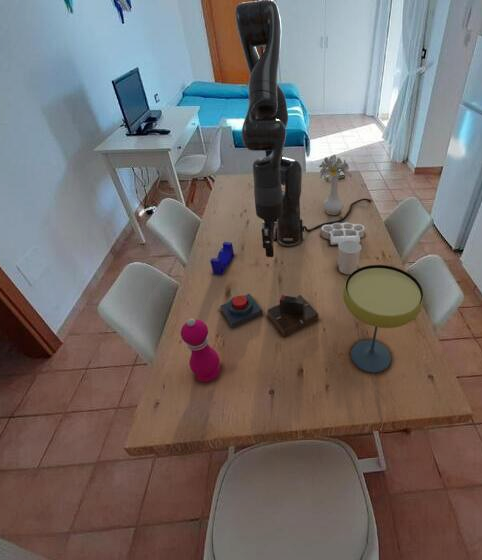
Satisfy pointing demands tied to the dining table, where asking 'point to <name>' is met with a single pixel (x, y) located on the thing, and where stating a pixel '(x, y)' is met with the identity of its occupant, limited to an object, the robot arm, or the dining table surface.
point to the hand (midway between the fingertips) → (272, 248)
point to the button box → (241, 312)
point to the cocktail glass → (380, 308)
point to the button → (239, 302)
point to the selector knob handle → (292, 305)
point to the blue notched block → (222, 258)
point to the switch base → (292, 319)
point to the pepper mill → (200, 350)
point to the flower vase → (333, 183)
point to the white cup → (348, 256)
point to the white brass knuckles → (342, 232)
